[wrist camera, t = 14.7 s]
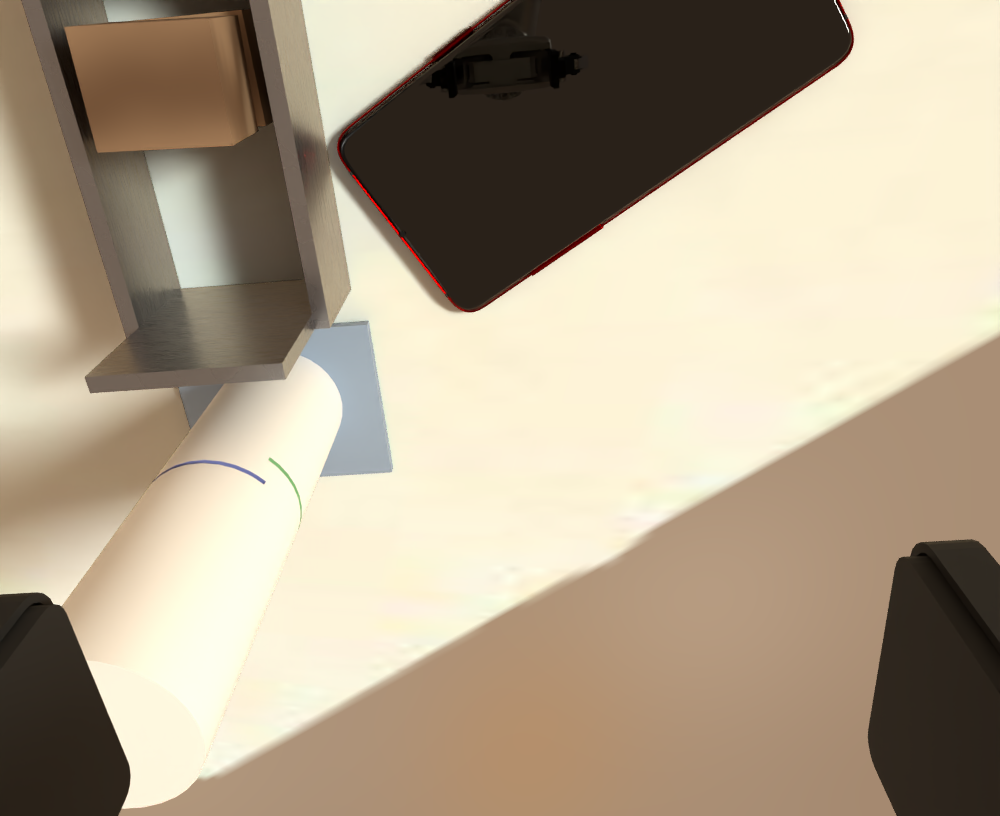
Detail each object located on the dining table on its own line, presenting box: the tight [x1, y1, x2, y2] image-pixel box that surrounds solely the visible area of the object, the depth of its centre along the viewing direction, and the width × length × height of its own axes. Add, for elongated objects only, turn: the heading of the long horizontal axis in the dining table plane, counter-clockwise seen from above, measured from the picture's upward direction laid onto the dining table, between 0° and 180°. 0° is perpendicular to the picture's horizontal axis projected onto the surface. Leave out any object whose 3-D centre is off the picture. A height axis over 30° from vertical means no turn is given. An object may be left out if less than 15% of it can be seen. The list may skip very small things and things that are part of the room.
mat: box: [178, 321, 393, 477], centre depth 51 cm, size 10×12×1 cm
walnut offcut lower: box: [135, 9, 273, 127], centre depth 41 cm, size 5×7×4 cm
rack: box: [21, 0, 351, 393], centre depth 39 cm, size 18×11×12 cm, turn 5°
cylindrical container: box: [62, 356, 342, 809], centre depth 39 cm, size 7×7×25 cm
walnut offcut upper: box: [64, 15, 258, 153], centre depth 37 cm, size 5×6×4 cm
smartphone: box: [337, 0, 854, 312], centre depth 43 cm, size 12×2×25 cm
